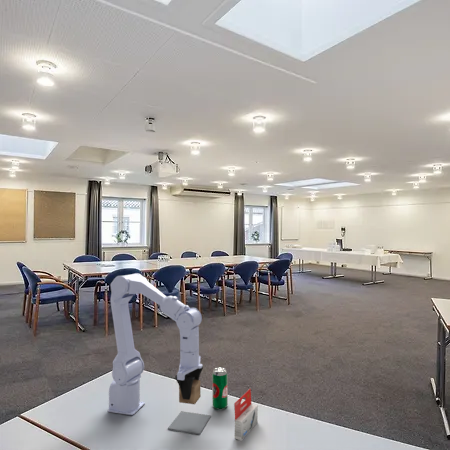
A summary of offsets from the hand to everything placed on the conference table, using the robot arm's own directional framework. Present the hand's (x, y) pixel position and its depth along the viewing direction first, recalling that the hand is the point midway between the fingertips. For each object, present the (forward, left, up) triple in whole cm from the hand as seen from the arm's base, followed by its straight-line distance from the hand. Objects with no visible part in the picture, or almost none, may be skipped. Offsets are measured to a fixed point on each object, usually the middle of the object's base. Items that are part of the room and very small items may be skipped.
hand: (189, 394), depth 102 cm
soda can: (+6, +12, -9) cm, 16 cm away
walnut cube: (0, 0, -2) cm, 2 cm away
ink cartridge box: (+17, +1, -9) cm, 20 cm away
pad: (0, 0, -8) cm, 8 cm away
